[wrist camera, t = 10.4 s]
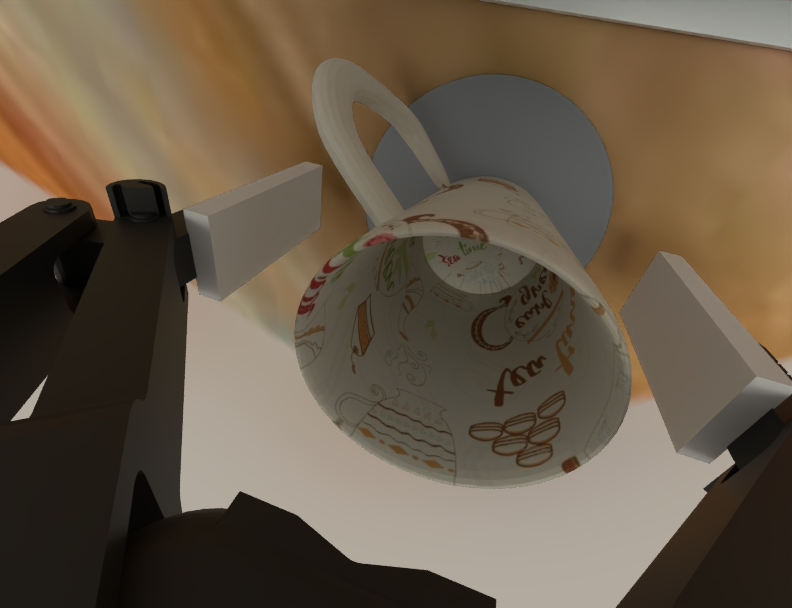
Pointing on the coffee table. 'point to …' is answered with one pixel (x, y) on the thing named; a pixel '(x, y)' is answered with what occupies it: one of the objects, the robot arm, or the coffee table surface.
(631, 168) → the coffee table surface
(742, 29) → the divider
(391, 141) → the coaster
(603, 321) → the mug
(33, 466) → the robot arm
